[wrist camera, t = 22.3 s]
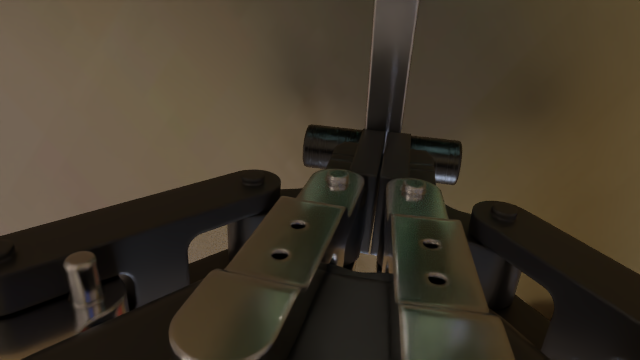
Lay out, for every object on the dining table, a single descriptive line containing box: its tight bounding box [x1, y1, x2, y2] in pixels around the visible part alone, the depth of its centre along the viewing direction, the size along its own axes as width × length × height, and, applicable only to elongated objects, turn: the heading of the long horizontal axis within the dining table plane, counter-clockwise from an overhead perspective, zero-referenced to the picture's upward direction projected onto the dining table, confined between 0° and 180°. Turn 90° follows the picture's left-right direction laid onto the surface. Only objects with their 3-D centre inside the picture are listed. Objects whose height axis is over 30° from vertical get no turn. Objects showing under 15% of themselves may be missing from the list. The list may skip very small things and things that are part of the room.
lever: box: [303, 0, 462, 185], centre depth 13 cm, size 11×5×2 cm, turn 177°
